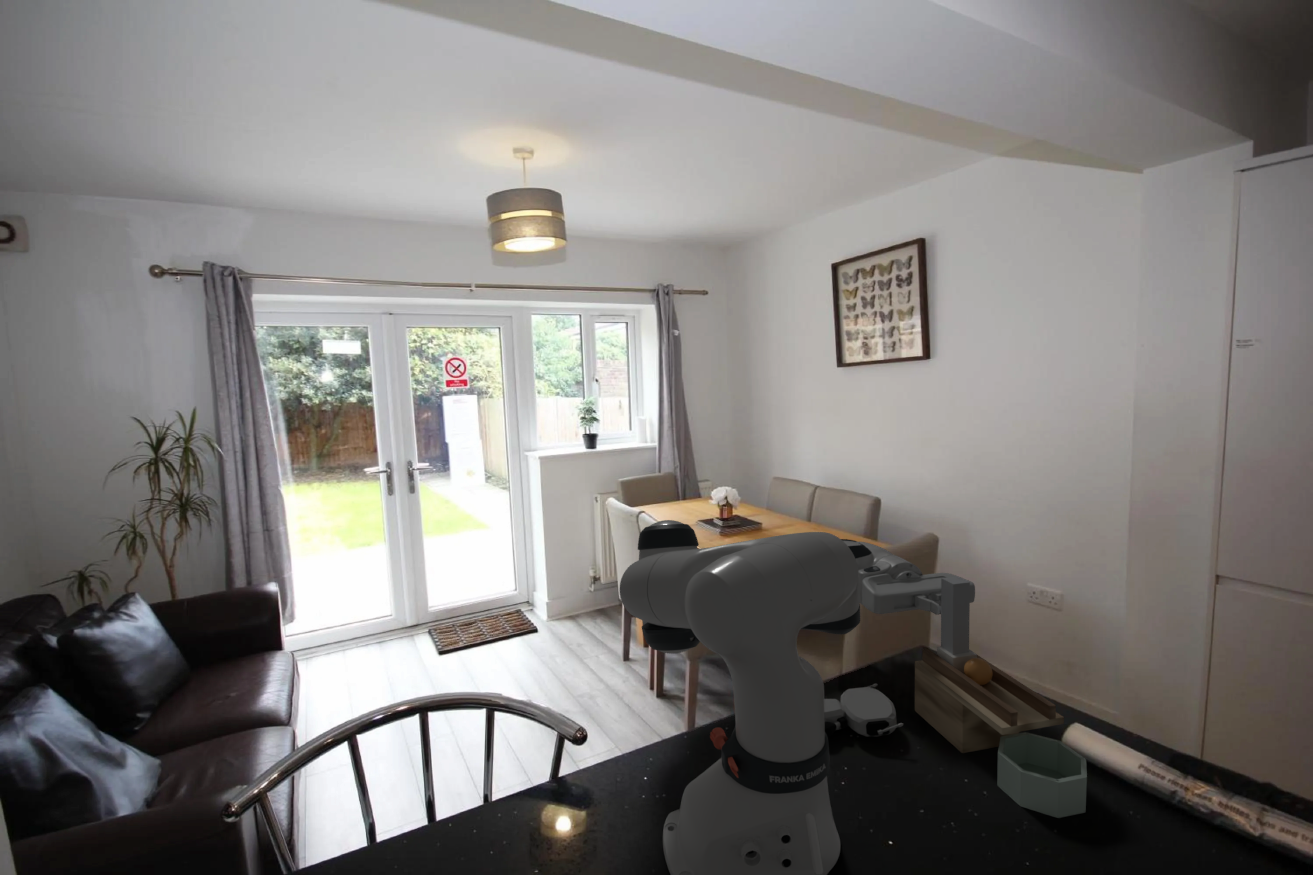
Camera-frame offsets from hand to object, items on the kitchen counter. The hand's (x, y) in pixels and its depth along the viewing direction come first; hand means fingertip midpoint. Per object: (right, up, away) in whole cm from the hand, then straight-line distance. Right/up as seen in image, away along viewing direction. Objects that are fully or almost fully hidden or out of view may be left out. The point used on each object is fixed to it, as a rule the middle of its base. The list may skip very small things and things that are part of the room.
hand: (945, 609), depth 103 cm
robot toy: (-17, -19, -2) cm, 26 cm away
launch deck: (+2, -19, -8) cm, 20 cm away
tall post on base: (+1, -9, -3) cm, 9 cm away
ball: (+1, -8, -8) cm, 11 cm away
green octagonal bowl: (+4, -20, -19) cm, 28 cm away
